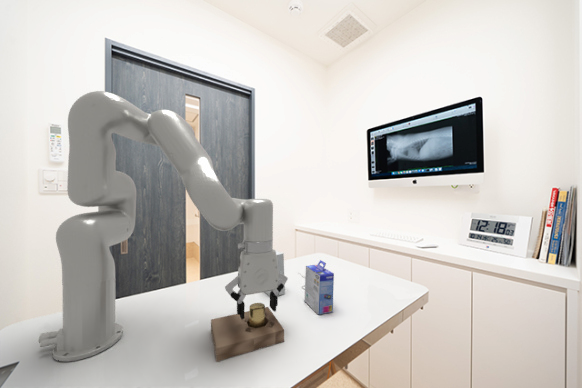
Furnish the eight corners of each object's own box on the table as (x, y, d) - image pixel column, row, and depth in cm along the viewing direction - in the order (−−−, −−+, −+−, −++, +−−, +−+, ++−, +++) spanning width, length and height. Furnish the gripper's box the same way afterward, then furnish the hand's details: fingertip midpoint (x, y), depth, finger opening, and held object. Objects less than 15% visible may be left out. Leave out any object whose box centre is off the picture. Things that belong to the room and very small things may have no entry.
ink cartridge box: (334, 312, 70) (334, 265, 69) (318, 316, 67) (319, 268, 67) (318, 298, 79) (318, 257, 78) (304, 301, 76) (304, 258, 76)
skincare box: (285, 294, 81) (285, 253, 81) (270, 298, 78) (270, 255, 78) (273, 286, 88) (274, 248, 88) (259, 289, 85) (260, 250, 85)
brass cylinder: (251, 339, 56) (251, 312, 56) (247, 330, 60) (247, 304, 60) (266, 335, 58) (266, 308, 58) (261, 326, 62) (262, 301, 62)
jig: (216, 361, 49) (216, 348, 49) (210, 330, 60) (211, 319, 60) (284, 341, 56) (284, 329, 56) (267, 316, 67) (268, 306, 67)
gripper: (226, 253, 52) (226, 329, 52) (294, 246, 59) (293, 312, 59) (221, 246, 58) (221, 312, 59) (283, 240, 66) (282, 299, 66)
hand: (257, 312), depth 59 cm, fingers open, 8 cm apart
